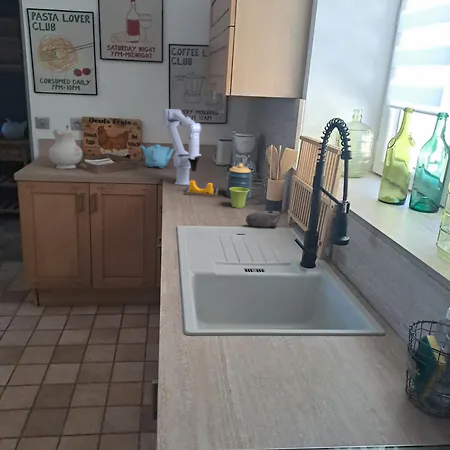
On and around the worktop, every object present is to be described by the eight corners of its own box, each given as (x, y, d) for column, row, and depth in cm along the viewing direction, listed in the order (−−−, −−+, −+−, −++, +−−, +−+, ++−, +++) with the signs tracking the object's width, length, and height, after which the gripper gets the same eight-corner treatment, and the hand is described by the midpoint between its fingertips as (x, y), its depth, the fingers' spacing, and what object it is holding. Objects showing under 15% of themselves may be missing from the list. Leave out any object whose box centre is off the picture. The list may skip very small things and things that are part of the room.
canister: (231, 200, 237) (233, 165, 231) (222, 193, 248) (224, 161, 243) (254, 199, 241) (257, 165, 236) (244, 193, 253) (247, 160, 248)
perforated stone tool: (245, 228, 195) (247, 212, 193) (244, 224, 200) (245, 208, 198) (281, 229, 196) (282, 213, 194) (278, 225, 201) (280, 210, 199)
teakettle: (162, 163, 319) (162, 142, 314) (177, 168, 305) (177, 146, 300) (137, 165, 308) (137, 143, 303) (151, 170, 294) (151, 147, 289)
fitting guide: (188, 188, 256) (188, 185, 255) (219, 190, 255) (219, 187, 255) (185, 194, 241) (185, 192, 240) (217, 197, 241) (218, 194, 240)
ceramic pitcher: (51, 165, 296) (46, 125, 287) (83, 163, 301) (79, 123, 293) (50, 172, 276) (44, 130, 268) (84, 170, 282) (79, 128, 273)
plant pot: (225, 204, 228) (226, 187, 226) (243, 203, 232) (244, 186, 229) (232, 209, 220) (233, 191, 217) (250, 208, 223) (252, 191, 221)
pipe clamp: (213, 194, 246) (214, 182, 244) (210, 196, 242) (210, 184, 240) (192, 191, 249) (193, 179, 248) (189, 193, 246) (189, 181, 244)
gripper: (200, 147, 243) (199, 173, 246) (202, 144, 257) (202, 169, 260) (186, 146, 243) (186, 172, 246) (189, 144, 257) (189, 169, 261)
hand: (193, 171), depth 253 cm, fingers closed
